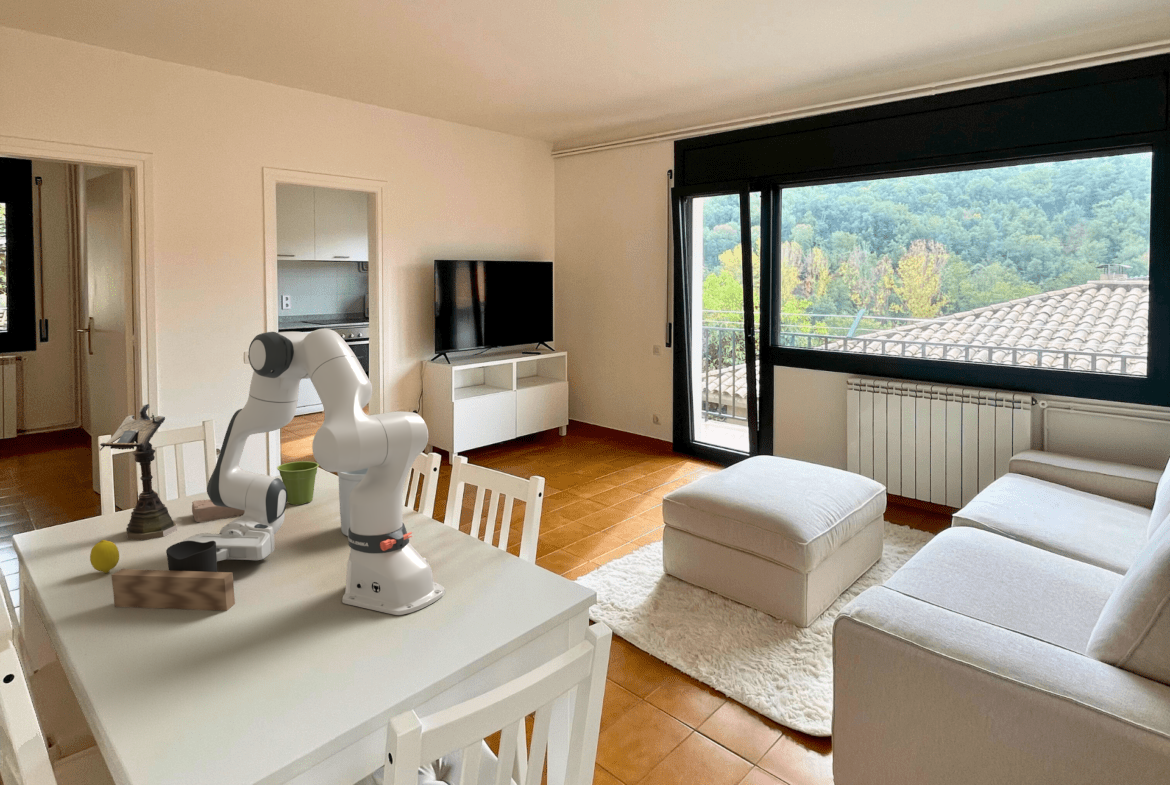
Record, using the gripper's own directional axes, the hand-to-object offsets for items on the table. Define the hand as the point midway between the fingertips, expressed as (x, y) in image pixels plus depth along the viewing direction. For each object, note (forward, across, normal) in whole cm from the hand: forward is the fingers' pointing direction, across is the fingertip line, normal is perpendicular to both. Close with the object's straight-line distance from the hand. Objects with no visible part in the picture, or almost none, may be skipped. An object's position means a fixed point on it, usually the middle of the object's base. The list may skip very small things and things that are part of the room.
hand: (205, 560), depth 156 cm
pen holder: (+4, 0, +5) cm, 7 cm away
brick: (-44, -21, +6) cm, 49 cm away
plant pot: (-57, -5, +5) cm, 57 cm away
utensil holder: (-35, +24, +5) cm, 43 cm away
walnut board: (+12, 0, +5) cm, 13 cm away
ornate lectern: (-26, -32, +5) cm, 42 cm away
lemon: (-3, -26, +5) cm, 26 cm away
